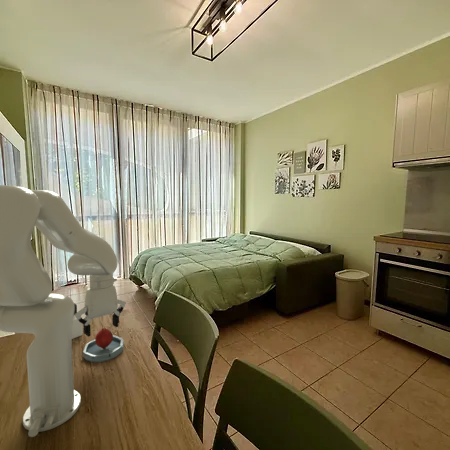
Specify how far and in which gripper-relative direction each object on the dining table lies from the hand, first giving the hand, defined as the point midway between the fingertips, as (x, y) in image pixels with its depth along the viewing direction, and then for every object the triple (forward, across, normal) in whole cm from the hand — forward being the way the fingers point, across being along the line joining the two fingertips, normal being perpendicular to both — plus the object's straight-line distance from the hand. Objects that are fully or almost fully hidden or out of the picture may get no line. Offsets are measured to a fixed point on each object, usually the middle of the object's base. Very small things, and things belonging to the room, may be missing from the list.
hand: (102, 330), depth 91 cm
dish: (+8, -1, -1) cm, 9 cm away
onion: (+8, -1, -1) cm, 8 cm away
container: (+8, +4, -21) cm, 23 cm away
